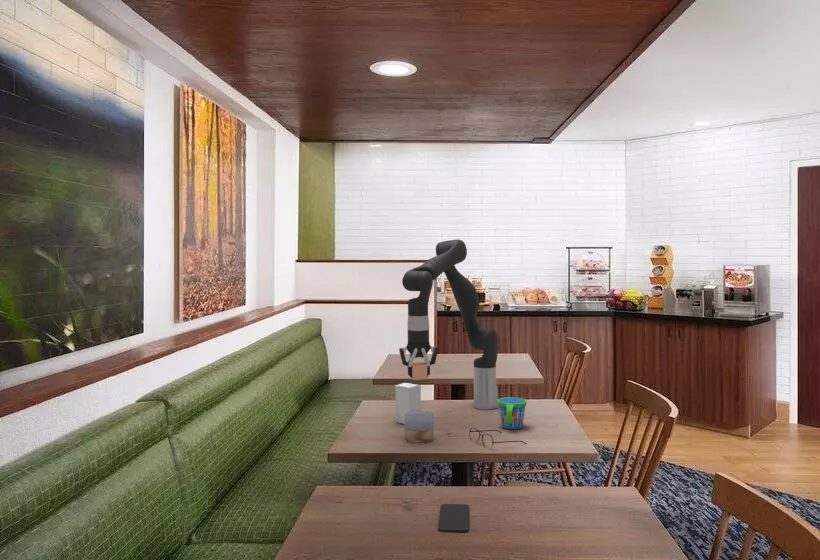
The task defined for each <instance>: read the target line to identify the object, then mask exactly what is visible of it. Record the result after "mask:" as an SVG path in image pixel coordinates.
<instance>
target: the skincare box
mask: <svg viewBox="0 0 820 560" xmlns="http://www.w3.org/2000/svg"><path fill="white" fill-rule="evenodd" d="M394 391H395V407H396V408H395V410H396V423H397V422H398V424H401V425H402V424H403V425H405V413H407V412H410V411H418V410H421V411H422V409H421V393H420V384H415V383H414V384H413V383H408V382H403V383H399V384H395V385H394Z"/></svg>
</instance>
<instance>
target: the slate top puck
mask: <svg viewBox="0 0 820 560" xmlns="http://www.w3.org/2000/svg"><path fill="white" fill-rule="evenodd" d="M405 428H406V429H408V430H411V431H426V430H430V429H432V428H433V429H434V412H431V411H428V410H422V409H421V410H418V411H410V412H407V413H405V424H404V429H405Z"/></svg>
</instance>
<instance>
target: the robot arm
mask: <svg viewBox="0 0 820 560" xmlns="http://www.w3.org/2000/svg"><path fill="white" fill-rule="evenodd" d="M467 249H468V248H467V245H466V243H465V242H464V241H463V240H461V239H458V238H457V239H451V240H443V241H439V242H438V243H437V244H436V246H435V256H433V257H431V258H429V259H427V260H426V261H425V262H424V263H422V264H421V265H418V266H416V267H413V268H411V269H409V270H407V271H406V272H405V273H404V274H403V277H402V279H401V280H402V286H403V288H404V289H405V290H406V291H408V292H419V294H418V296H417V297H413V298H412V297H411V298H410V299H408V301H407V343H406V346H405V347H399V348H398V351H399V352H398V353H399V355H400V359H401V363H402V365H403V366H405V367H407V375H408V376H409V378H411V379H412V364H413V363H414V362H415V359H418V358H423V361H424V362H425V363H426V364H427V378H429V376H430V375H431V366H432V365H435V364H436V360H437V357H438V352H439V348H438V347H437V346H432V345H431V343H430V320H429V301H430V296H431V292H432V290H433V289H432V288H433V285H434V281H435V280H436V279H438V277H440V276H441V275H442V274H443V273H444V275H445V277H446V280H447V281H448V284H449V287H450V288H451V291H452V292H451V293H452V294H453V299H454V300H455V302H456V304H457V308H458V310H459V312H460V315H461V318H462V321H463V324H464V327H465V331H466V336H467V339H468V341H469V344H470V346H471V347H472V348H473V349H475V350H480V351H483V352H482V356H481V357H477V358H475V359H474V360H473V407H474V408H475V409H477V410H493V409H499V405H498V399H499V397H498V385H497V365H496V364H497V360H498V349H499V348H498V347H499V346H498V345H499V336H498V332H497V331H496V330H495V329H494V328H487V327H481V326H480V324H479V322H478V318H477V314H478V311H479V307H480V298H479V295H478V292H477V288H476V287H475V286H474V284H473V282H471V281H470V280H469V279H468V278H467V277H466V276H464V275H463V274H462V273H461V272H459V270H458V269H457V268H456V265H458V264H460V263H463V262H464V261H465V260H466V258H467V255H468V250H467ZM407 352H408V353H409V358H408V361H407V360H406V356H405V354H406V353H407ZM429 352H431V358H430V360H429V358H428V353H429Z"/></svg>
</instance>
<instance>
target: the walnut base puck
mask: <svg viewBox="0 0 820 560" xmlns="http://www.w3.org/2000/svg"><path fill="white" fill-rule="evenodd" d="M404 440H406V441H407V442H406V441H405V442H406V443H409V442H410V443H409V444H414V443H424V444H428V442H429V443H431V442H433V441H434V427H433V428H432V429H430V430H426V431H411V430H408V429H406V428H405V427H404Z"/></svg>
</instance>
